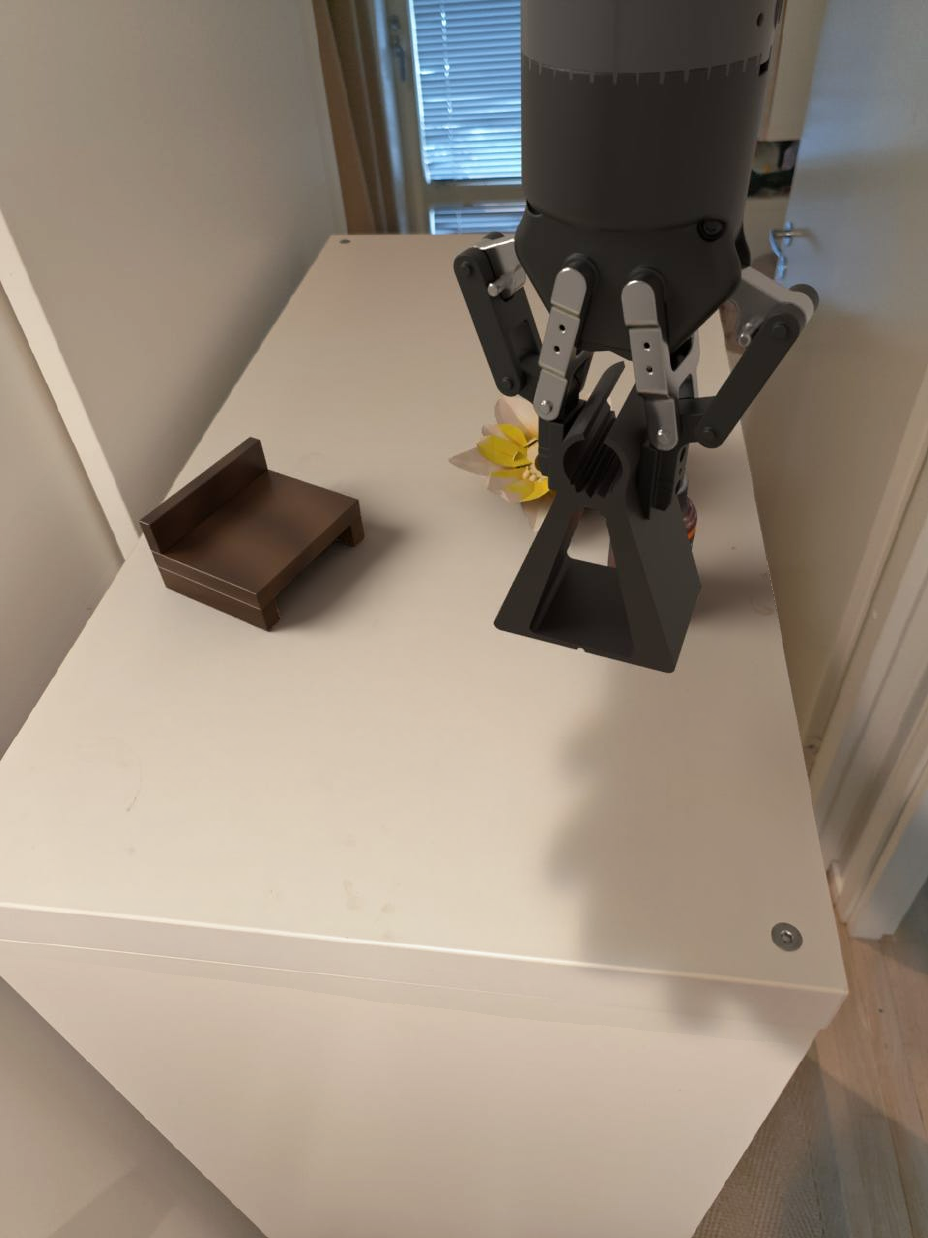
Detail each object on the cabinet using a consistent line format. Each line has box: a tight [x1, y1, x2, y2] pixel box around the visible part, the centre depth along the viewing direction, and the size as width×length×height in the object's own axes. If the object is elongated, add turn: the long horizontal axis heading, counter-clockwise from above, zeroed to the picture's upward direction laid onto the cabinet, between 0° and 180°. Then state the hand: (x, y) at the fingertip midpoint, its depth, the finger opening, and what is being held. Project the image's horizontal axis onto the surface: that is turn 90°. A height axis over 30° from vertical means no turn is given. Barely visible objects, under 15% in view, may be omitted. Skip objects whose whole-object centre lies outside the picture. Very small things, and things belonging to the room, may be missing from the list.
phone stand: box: [493, 360, 702, 674], centre depth 38 cm, size 9×6×12 cm, turn 67°
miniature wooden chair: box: [138, 436, 366, 632], centre depth 69 cm, size 13×11×7 cm
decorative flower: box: [447, 390, 613, 533], centre depth 73 cm, size 15×11×10 cm
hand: (607, 493), depth 37 cm, fingers closed on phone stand, 3 cm apart
